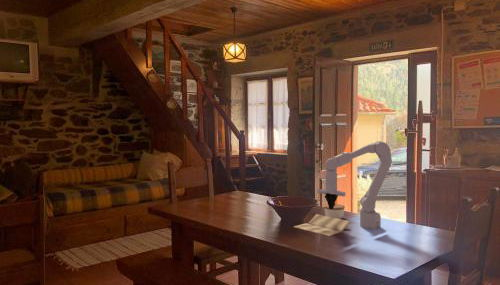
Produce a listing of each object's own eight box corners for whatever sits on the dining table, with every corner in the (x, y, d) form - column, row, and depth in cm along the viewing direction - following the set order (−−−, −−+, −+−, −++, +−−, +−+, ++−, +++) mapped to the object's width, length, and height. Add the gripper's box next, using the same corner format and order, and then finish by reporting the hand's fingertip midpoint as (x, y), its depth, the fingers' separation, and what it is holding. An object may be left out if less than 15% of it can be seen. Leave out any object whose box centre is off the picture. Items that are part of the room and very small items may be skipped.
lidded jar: (321, 220, 212) (321, 203, 212) (327, 216, 222) (327, 200, 221) (341, 223, 207) (341, 205, 207) (346, 218, 217) (346, 201, 216)
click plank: (349, 222, 193) (349, 220, 192) (341, 233, 188) (340, 231, 188) (317, 215, 207) (316, 214, 207) (308, 225, 203) (307, 223, 202)
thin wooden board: (342, 234, 187) (342, 231, 187) (329, 238, 180) (329, 235, 180) (306, 225, 203) (306, 223, 203) (293, 229, 196) (293, 226, 196)
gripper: (348, 182, 197) (348, 209, 197) (322, 180, 206) (322, 205, 206) (341, 184, 191) (341, 211, 192) (315, 181, 200) (315, 208, 201)
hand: (331, 208), depth 199 cm, fingers closed
